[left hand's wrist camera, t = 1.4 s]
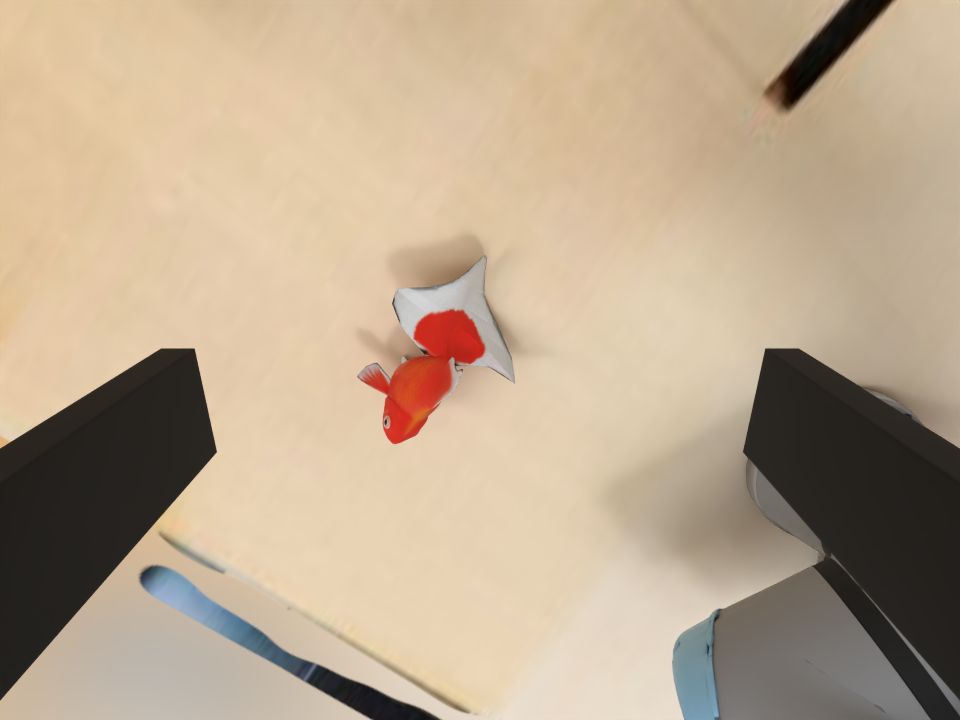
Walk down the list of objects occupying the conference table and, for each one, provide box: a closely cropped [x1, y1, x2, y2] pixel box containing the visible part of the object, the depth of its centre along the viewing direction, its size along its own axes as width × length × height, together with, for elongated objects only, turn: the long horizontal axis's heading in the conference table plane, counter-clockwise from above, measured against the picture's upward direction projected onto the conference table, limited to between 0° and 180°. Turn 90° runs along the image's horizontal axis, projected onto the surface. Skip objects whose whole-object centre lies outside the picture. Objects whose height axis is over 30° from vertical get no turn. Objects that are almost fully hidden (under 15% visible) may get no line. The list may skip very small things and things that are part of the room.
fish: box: [357, 255, 515, 444], centre depth 41 cm, size 11×16×10 cm
